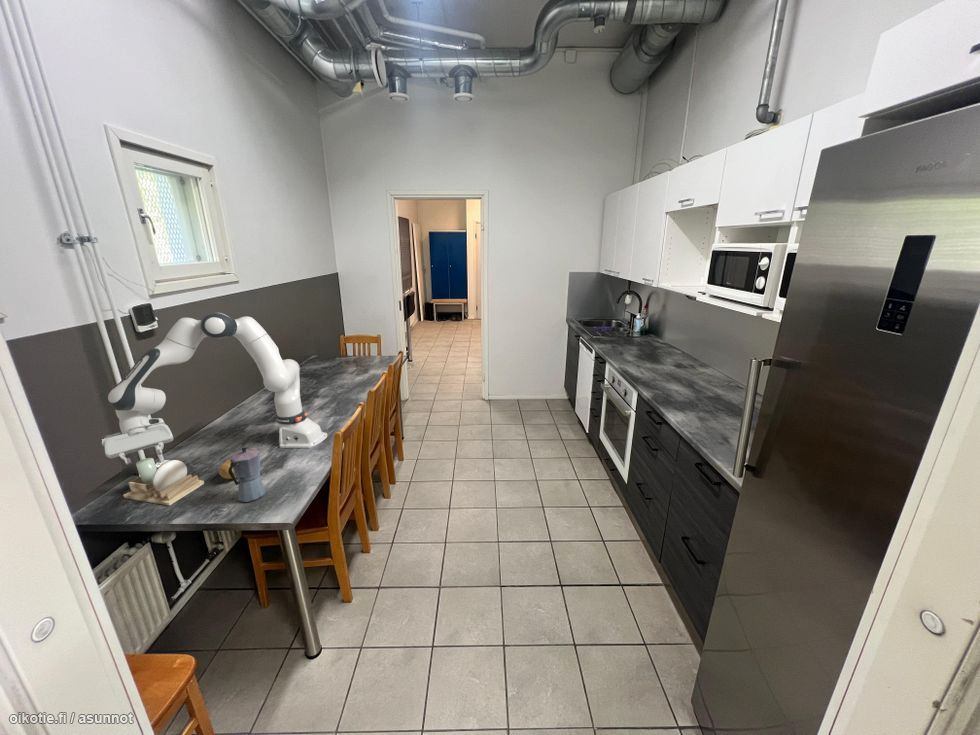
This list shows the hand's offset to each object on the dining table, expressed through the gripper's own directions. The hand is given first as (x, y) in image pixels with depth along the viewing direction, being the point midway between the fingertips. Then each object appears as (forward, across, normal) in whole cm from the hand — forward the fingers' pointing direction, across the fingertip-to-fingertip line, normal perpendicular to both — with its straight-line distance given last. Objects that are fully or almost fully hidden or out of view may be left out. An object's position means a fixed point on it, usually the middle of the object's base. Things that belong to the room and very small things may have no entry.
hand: (144, 458), depth 149 cm
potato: (+20, +26, -2) cm, 33 cm away
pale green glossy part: (+10, 0, +6) cm, 11 cm away
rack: (+14, +3, +3) cm, 15 cm away
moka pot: (+35, +27, -17) cm, 47 cm away
